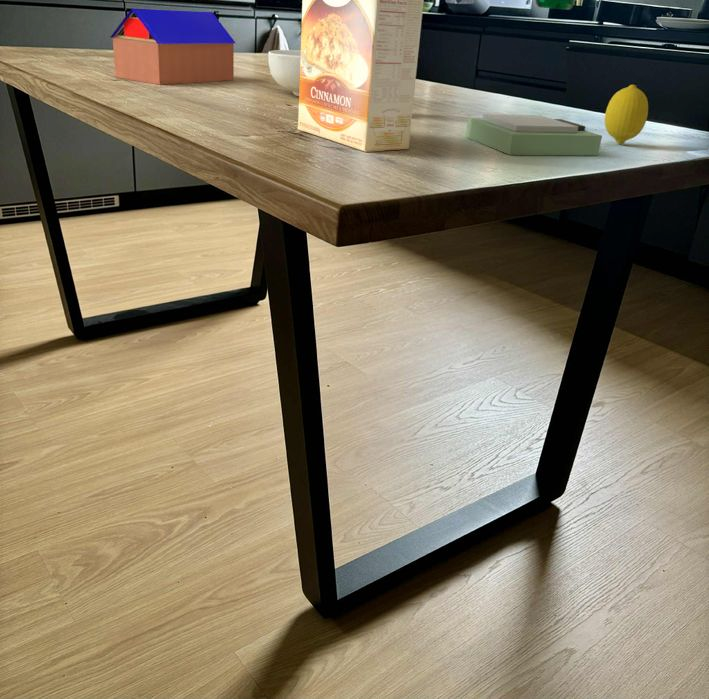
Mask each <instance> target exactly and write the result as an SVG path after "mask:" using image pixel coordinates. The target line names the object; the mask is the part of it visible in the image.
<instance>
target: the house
mask: <svg viewBox="0 0 709 699" xmlns="http://www.w3.org/2000/svg"><path fill="white" fill-rule="evenodd" d="M109 38H112V46H113V48H112V50H113V59H114V60H113V61H114V74H115V76H114V77H115V78H118V79H124V80H130V81H136V82H143V83H148V84H154V85H159V86H161V85H162V86H163V85H176V84H190V83H207V82H220V81H221V82H222V81H223V82H224V81H234V79H235V78H234V76H235V75H234V74H235V72H234V69H235V68H234V66H235V65H234V63H235V62H234V60H235V59H234V55H235V54H234V53H235V52H234V51H235V50H234V49H235V48H234V46H235V45H234V44H236V41H235V40H234V38H233V37H232V36H231V35H230V33H229V32H228V30H227V29H226V28H225V27H224V26H223V24H222V23H221V22H220V20H219V19H218V18H217V16H216V15H215V14H214V13H213V11H196V10H195V11H194V10H193V11H192V10H172V9H171V10H169V9H168V10H167V9H146V8H145V9H144V8H130V10H129V11H128V12H127V14H126V15H125V17H124V18H123V19H122V20H121V22H120V24H119V25H118V26H117V27H116V29H115V30H114V31H113V32H112V35H111V36H110V37H109Z"/></svg>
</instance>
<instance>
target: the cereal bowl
mask: <svg viewBox="0 0 709 699" xmlns="http://www.w3.org/2000/svg"><path fill="white" fill-rule="evenodd" d="M267 59H268V68H269V72H270V74H271V77H272V78H273V80H274V81H275V82H276V83H277V84H278V85H280V86H281V87H283V88H285V89H287V90H289V91H291V92H292V94H293V95H294V96H295V97H299V88H300V59H301V49H276V50H270V51H268V54H267Z"/></svg>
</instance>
